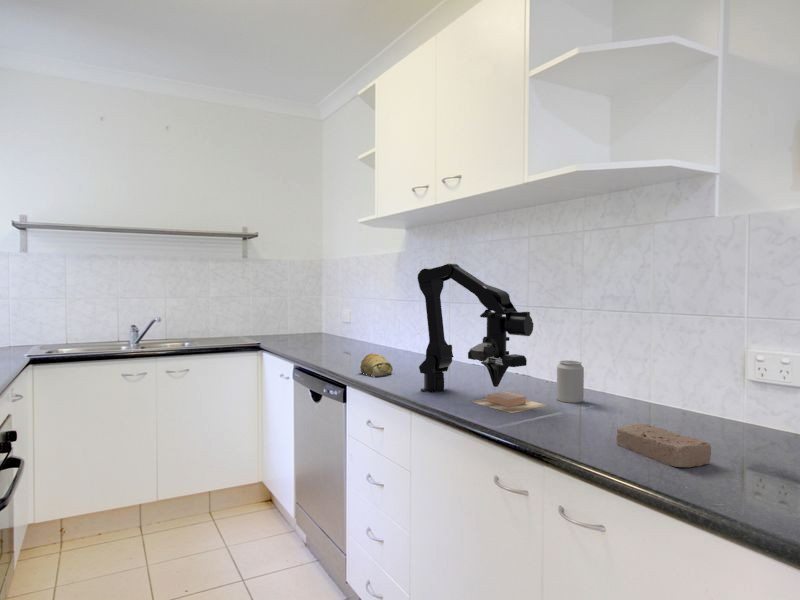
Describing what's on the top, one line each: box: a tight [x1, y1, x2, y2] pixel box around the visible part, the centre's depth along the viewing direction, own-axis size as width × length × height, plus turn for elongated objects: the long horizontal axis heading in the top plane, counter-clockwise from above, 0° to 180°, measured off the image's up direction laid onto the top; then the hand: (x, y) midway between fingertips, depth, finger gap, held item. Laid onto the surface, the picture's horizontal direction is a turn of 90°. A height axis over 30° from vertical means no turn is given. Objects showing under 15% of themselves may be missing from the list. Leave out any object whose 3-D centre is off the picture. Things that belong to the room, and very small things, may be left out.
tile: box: [487, 391, 527, 407], centre depth 143 cm, size 2×7×8 cm
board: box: [470, 397, 550, 414], centre depth 142 cm, size 16×15×1 cm
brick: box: [615, 422, 712, 468], centre depth 102 cm, size 17×8×5 cm, turn 20°
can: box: [556, 360, 585, 404], centre depth 146 cm, size 8×8×12 cm
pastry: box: [360, 353, 393, 377], centre depth 193 cm, size 14×12×8 cm
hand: (495, 386), depth 147 cm, fingers closed
